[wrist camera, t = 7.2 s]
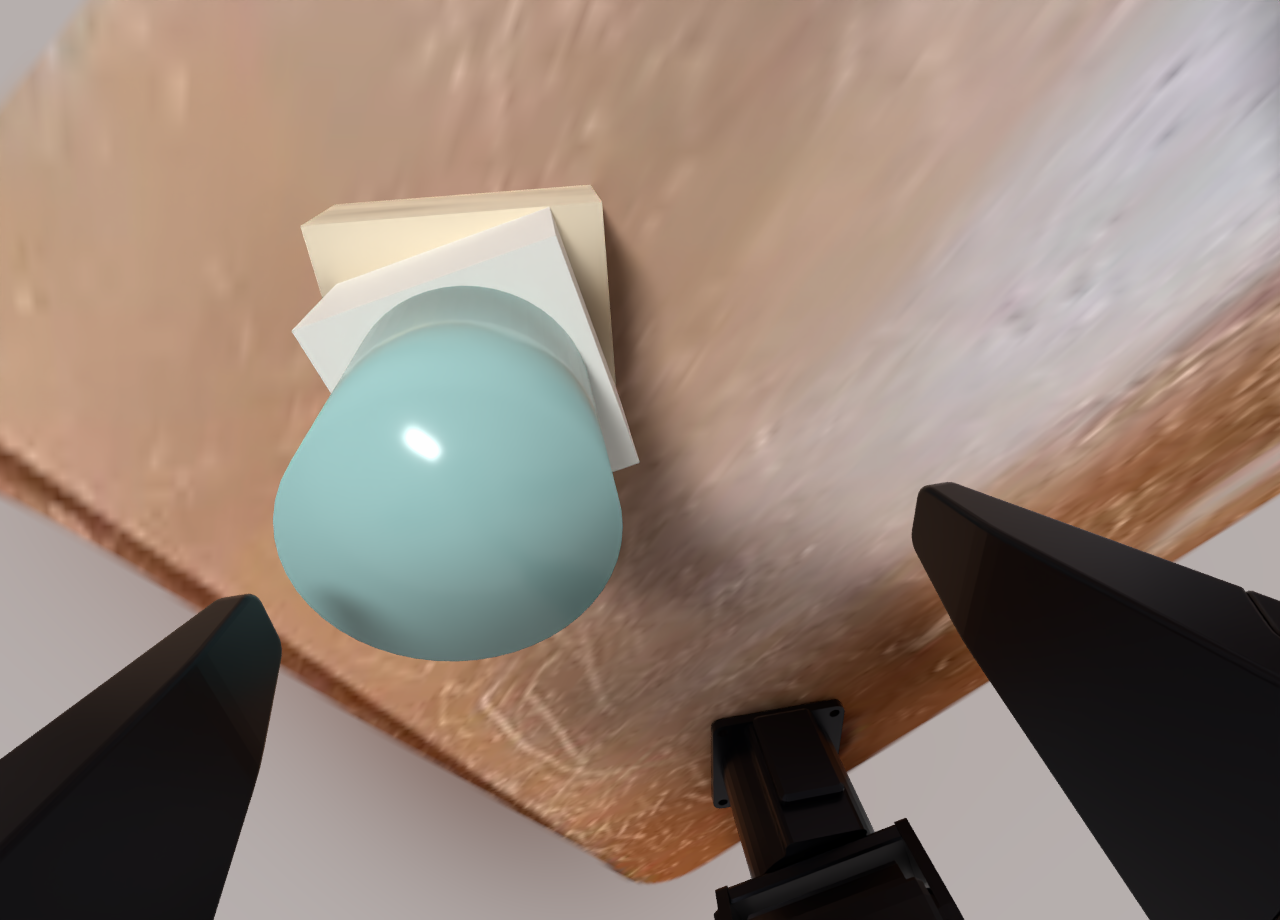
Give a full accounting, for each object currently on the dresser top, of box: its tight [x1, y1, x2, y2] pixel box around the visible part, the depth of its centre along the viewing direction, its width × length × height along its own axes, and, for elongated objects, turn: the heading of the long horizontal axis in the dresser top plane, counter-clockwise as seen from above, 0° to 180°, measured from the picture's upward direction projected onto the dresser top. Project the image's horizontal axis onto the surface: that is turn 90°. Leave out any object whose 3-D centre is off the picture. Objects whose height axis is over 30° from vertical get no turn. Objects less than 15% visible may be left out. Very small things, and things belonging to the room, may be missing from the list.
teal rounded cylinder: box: [273, 286, 623, 661], centre depth 12 cm, size 5×5×5 cm
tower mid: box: [292, 207, 640, 472], centre depth 16 cm, size 6×6×4 cm
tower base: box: [301, 185, 616, 387], centre depth 19 cm, size 7×7×4 cm
